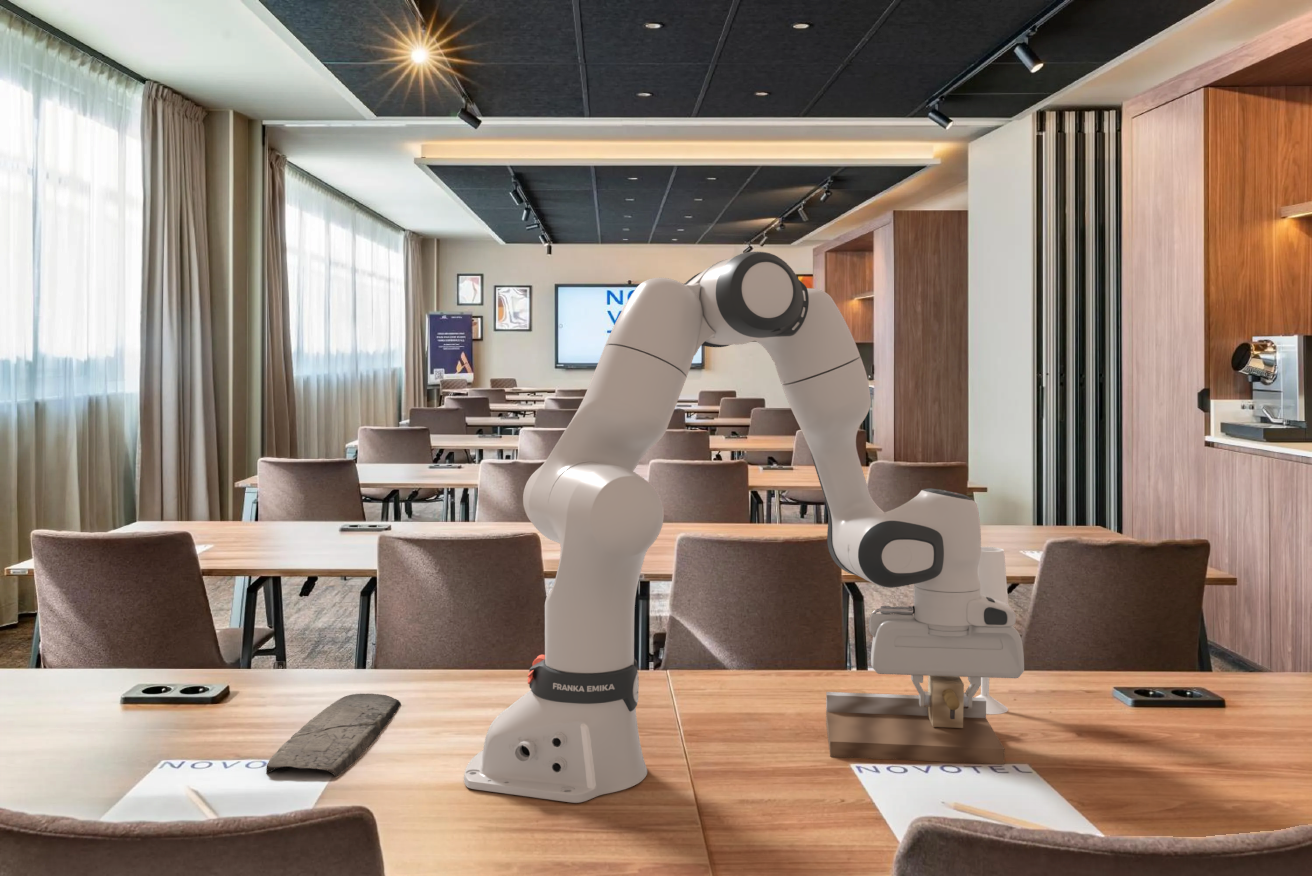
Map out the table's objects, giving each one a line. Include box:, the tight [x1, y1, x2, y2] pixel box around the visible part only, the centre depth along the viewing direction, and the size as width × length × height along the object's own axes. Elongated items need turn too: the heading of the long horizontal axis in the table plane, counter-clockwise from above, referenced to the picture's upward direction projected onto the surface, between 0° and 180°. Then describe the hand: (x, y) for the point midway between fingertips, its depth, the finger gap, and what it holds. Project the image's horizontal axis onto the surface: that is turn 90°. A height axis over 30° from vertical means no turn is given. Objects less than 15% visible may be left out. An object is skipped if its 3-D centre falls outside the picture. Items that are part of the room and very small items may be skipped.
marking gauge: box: [927, 676, 965, 728], centre depth 141 cm, size 4×9×6 cm, turn 173°
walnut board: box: [825, 691, 1005, 765], centre depth 141 cm, size 22×14×4 cm, turn 83°
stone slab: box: [266, 693, 402, 778], centre depth 143 cm, size 10×3×30 cm
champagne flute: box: [976, 546, 1009, 715], centre depth 156 cm, size 7×7×24 cm
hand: (945, 706), depth 143 cm, fingers closed on marking gauge, 4 cm apart
